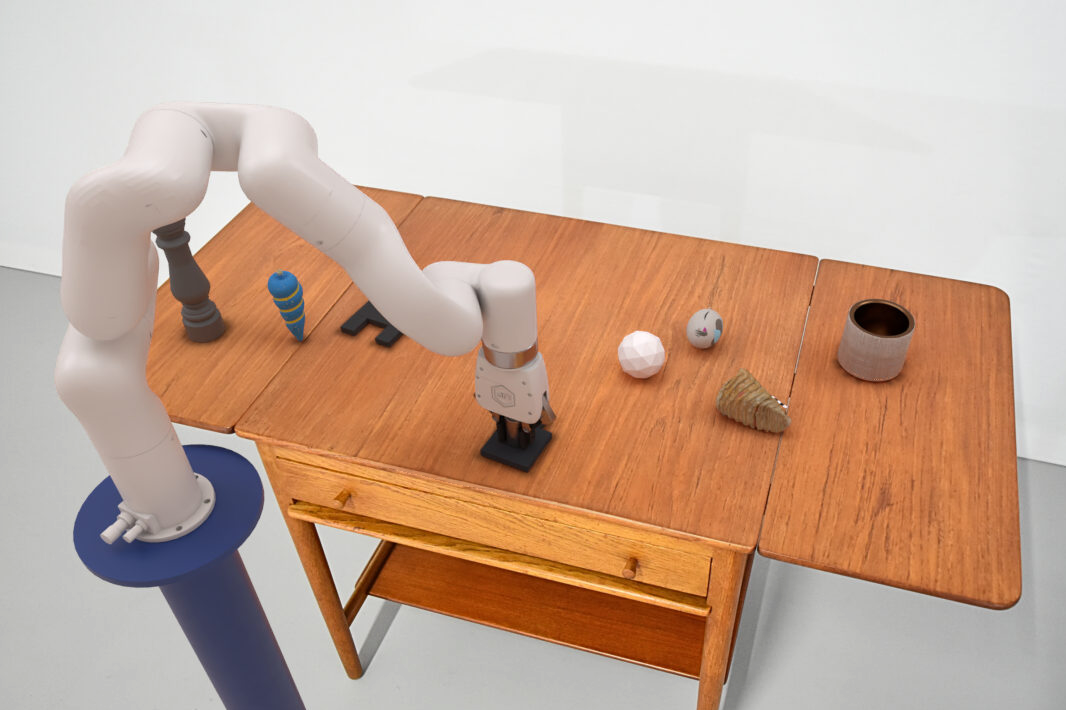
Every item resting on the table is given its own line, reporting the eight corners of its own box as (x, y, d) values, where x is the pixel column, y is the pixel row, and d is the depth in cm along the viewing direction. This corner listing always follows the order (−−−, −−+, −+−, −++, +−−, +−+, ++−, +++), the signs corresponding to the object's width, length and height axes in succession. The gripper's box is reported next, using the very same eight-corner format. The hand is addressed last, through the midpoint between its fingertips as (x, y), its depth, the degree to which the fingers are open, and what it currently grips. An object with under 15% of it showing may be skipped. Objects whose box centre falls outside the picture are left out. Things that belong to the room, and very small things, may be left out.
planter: (824, 348, 154) (835, 304, 148) (880, 337, 157) (893, 292, 150) (856, 389, 147) (869, 344, 140) (914, 376, 149) (929, 331, 143)
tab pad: (527, 472, 132) (525, 441, 128) (480, 455, 135) (477, 423, 130) (562, 423, 140) (562, 391, 136) (517, 407, 143) (515, 376, 138)
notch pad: (389, 348, 153) (388, 342, 152) (341, 331, 156) (340, 326, 155) (421, 315, 160) (421, 310, 159) (375, 300, 163) (374, 295, 162)
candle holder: (179, 337, 154) (129, 209, 137) (204, 316, 158) (159, 191, 141) (208, 346, 153) (161, 218, 136) (233, 325, 157) (190, 199, 140)
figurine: (712, 363, 151) (716, 332, 146) (678, 354, 153) (681, 323, 148) (726, 336, 156) (730, 305, 152) (693, 327, 158) (696, 297, 153)
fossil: (719, 386, 147) (709, 417, 140) (729, 358, 143) (719, 388, 136) (790, 410, 146) (783, 442, 139) (801, 382, 142) (795, 414, 135)
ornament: (307, 351, 152) (287, 279, 142) (279, 348, 153) (257, 275, 142) (319, 332, 156) (301, 260, 145) (291, 329, 156) (271, 257, 146)
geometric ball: (630, 378, 152) (620, 332, 151) (675, 371, 149) (665, 323, 148) (616, 386, 145) (606, 337, 144) (663, 378, 142) (653, 329, 141)
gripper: (444, 345, 123) (456, 439, 135) (551, 380, 118) (553, 474, 130) (472, 314, 128) (482, 408, 140) (576, 347, 123) (576, 441, 135)
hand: (516, 439), depth 135 cm, fingers closed on tab pad, 3 cm apart
